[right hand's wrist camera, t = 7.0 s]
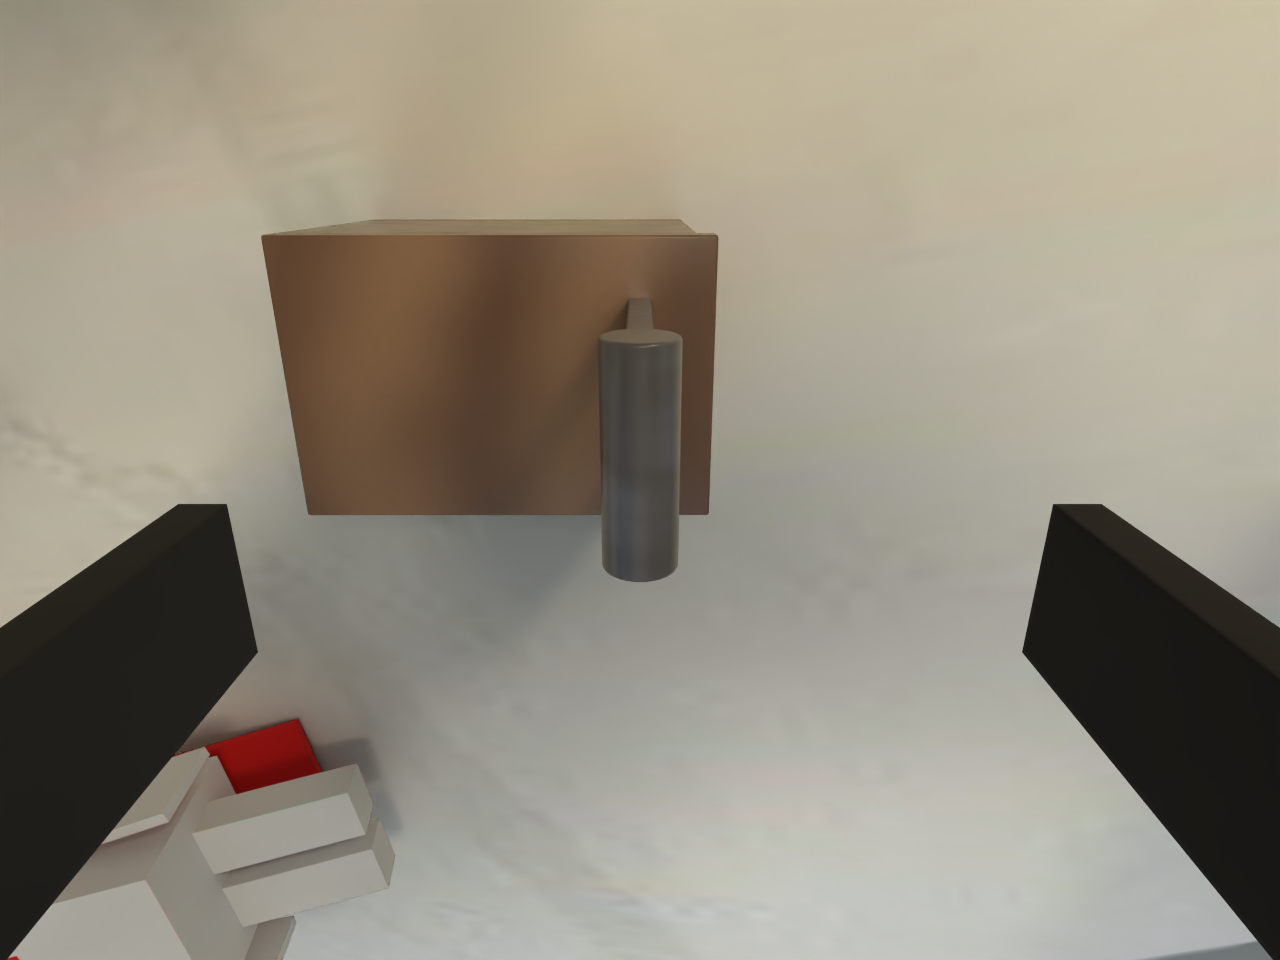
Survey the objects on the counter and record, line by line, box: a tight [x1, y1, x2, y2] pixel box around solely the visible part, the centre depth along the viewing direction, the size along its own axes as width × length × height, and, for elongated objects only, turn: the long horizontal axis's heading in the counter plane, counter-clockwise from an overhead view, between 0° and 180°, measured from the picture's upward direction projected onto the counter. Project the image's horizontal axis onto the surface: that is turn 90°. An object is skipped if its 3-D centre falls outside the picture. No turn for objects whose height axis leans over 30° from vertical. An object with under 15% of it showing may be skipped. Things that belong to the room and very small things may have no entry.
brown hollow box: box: [282, 220, 696, 233], centre depth 30 cm, size 13×9×10 cm
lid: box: [261, 233, 718, 582], centre depth 21 cm, size 14×9×9 cm, turn 90°
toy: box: [7, 719, 395, 960], centre depth 39 cm, size 12×13×30 cm
